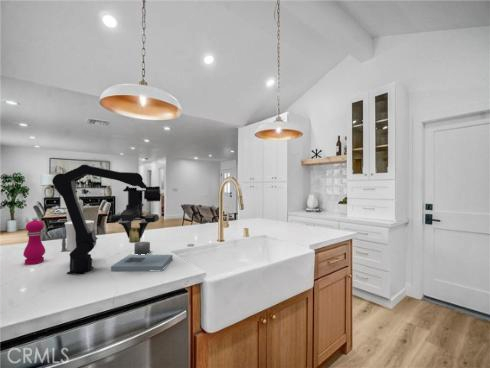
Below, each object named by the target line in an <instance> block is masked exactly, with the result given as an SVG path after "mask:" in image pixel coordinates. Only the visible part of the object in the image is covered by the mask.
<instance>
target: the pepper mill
mask: <svg viewBox="0 0 490 368" xmlns="http://www.w3.org/2000/svg"><path fill="white" fill-rule="evenodd" d="M38 219H39V218H38V217H37V216H34V217H32V220H30V221H29V222H27V223H26V225H25V229H26V231H27V237H28V240H27V241H28V242H27V245H26V247H25V248H24V250H23V257H24V258H26V259H24V264H25V265H29V266H30V265H38V264H40V263H44V261H45V260H44V259H45V258H44V255H45V254H46V248H45V246H44V244H43V242H42V235H43V229H44V227H45V224H44V222H42V221H41V220H38Z"/></svg>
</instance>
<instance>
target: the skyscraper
mask: <svg viewBox="0 0 490 368" xmlns="http://www.w3.org/2000/svg"><path fill="white" fill-rule="evenodd" d="M76 197H77V200H78V203H79V205H80V208H81V211H82V214H83V210H84V209H83V208H84V201H83V200H81V199H80V197H79V196H76ZM79 199H80V200H79ZM83 215H84V214H83ZM66 219H67V221H66V222H71V218H70V216H69V213H68V210H67V209H66ZM62 232H63V233H62V236H61V237H62V242H61V251H60V253H65V252H66V253H67V252H70V248H69V243H68V236H67V235H66V228H65V226H64V227H63V230H62ZM66 237H67V238H66Z"/></svg>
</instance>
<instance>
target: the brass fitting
mask: <svg viewBox="0 0 490 368" xmlns="http://www.w3.org/2000/svg"><path fill="white" fill-rule="evenodd" d="M139 232H140V226H131V228H129V238H128V243H129V244H135V243H138V242H141V238H140V237H139Z"/></svg>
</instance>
